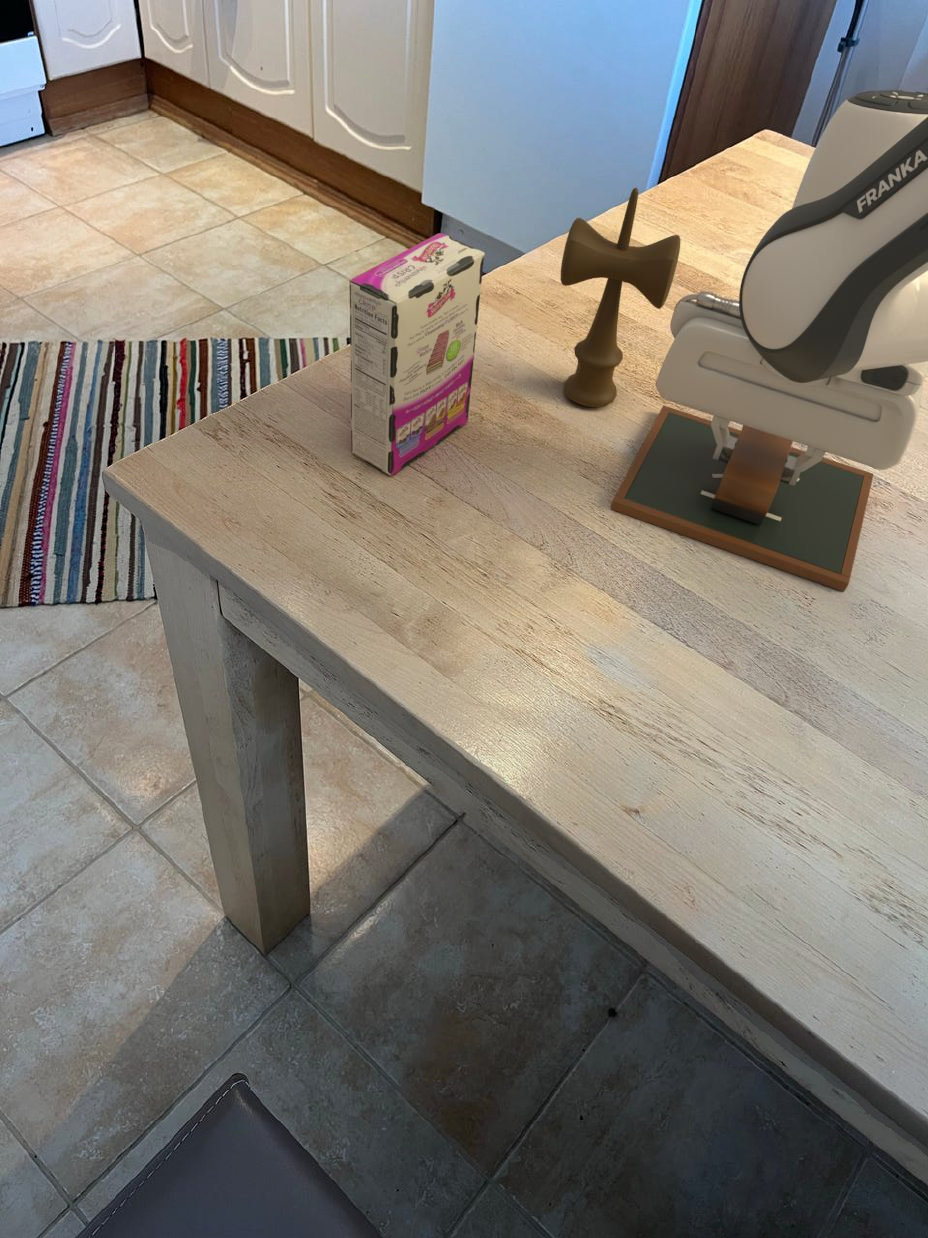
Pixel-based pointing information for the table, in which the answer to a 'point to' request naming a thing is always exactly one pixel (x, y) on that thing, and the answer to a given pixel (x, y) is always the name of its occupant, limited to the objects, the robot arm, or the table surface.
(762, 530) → the chalkboard
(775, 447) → the eraser
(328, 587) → the table surface
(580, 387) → the kendama
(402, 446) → the candy bar box
